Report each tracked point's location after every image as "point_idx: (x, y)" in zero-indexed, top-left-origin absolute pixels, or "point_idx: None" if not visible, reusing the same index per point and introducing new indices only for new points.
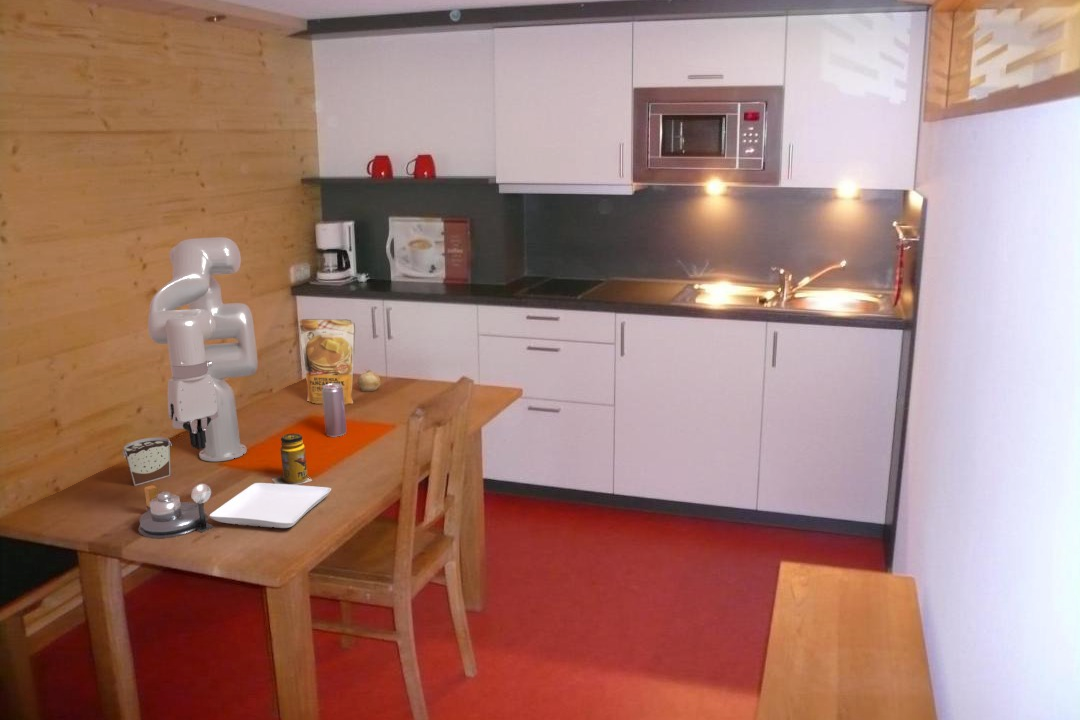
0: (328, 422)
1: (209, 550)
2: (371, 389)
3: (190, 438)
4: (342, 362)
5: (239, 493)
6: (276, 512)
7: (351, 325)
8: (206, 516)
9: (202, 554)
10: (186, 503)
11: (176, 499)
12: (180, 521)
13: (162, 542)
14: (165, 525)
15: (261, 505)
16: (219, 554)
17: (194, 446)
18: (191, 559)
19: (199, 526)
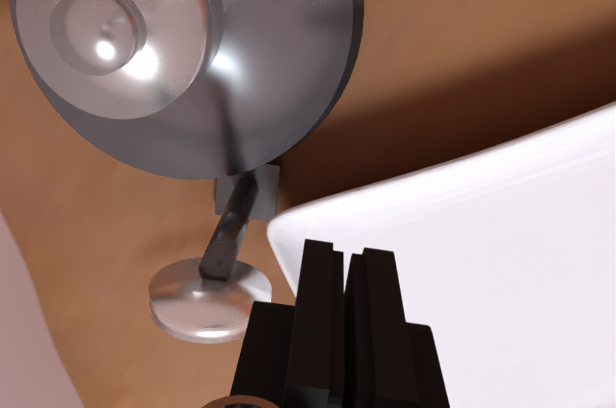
0: None
1: (146, 353)
2: None
3: (240, 360)
4: None
5: (555, 130)
6: (510, 339)
7: None
8: (332, 99)
9: (113, 357)
10: None
11: (162, 90)
12: (156, 141)
13: (60, 145)
14: (83, 116)
15: (546, 236)
16: (151, 400)
17: (297, 290)
18: (67, 355)
19: (234, 176)
